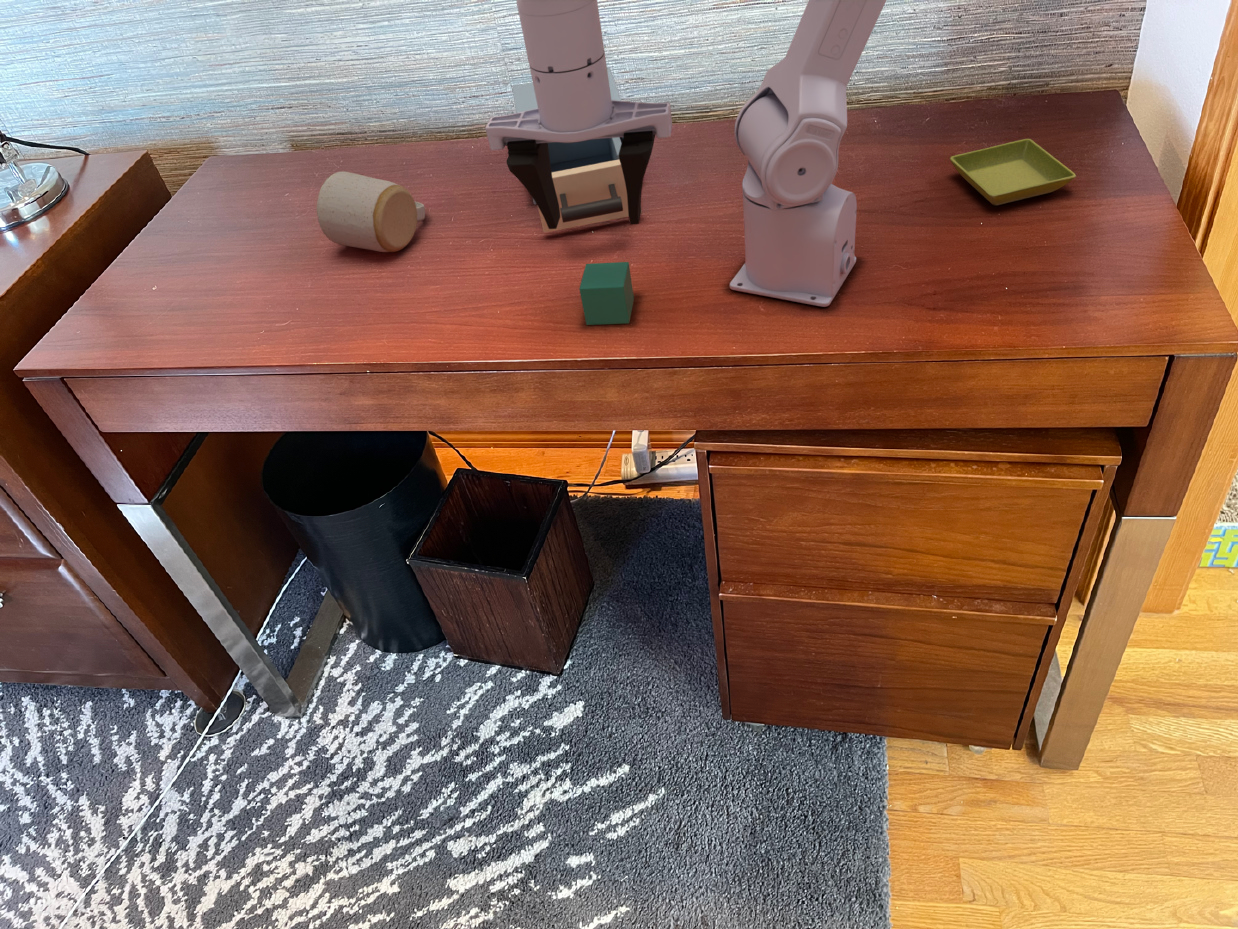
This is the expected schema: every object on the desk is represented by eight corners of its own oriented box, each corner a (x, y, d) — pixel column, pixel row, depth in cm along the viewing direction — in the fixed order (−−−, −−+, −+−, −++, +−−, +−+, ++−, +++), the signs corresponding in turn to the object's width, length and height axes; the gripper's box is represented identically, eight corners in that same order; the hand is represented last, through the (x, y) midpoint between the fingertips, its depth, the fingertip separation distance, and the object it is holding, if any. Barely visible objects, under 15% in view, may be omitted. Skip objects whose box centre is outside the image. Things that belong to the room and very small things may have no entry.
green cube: (634, 298, 84) (628, 261, 81) (629, 323, 81) (623, 286, 78) (592, 299, 85) (585, 263, 82) (586, 325, 82) (578, 288, 79)
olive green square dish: (1074, 195, 86) (1078, 175, 85) (988, 215, 86) (991, 195, 84) (1025, 156, 92) (1029, 137, 91) (945, 175, 92) (947, 156, 90)
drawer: (649, 235, 90) (642, 182, 86) (547, 255, 90) (535, 203, 86) (623, 156, 103) (616, 106, 98) (534, 174, 102) (523, 125, 98)
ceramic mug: (390, 267, 94) (367, 199, 88) (330, 257, 97) (304, 191, 92) (446, 217, 100) (427, 151, 95) (388, 209, 103) (366, 145, 98)
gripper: (668, 27, 68) (683, 191, 78) (486, 45, 71) (522, 201, 80) (659, 65, 63) (676, 235, 73) (464, 82, 66) (505, 244, 76)
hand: (594, 220), depth 76 cm, fingers open, 6 cm apart
